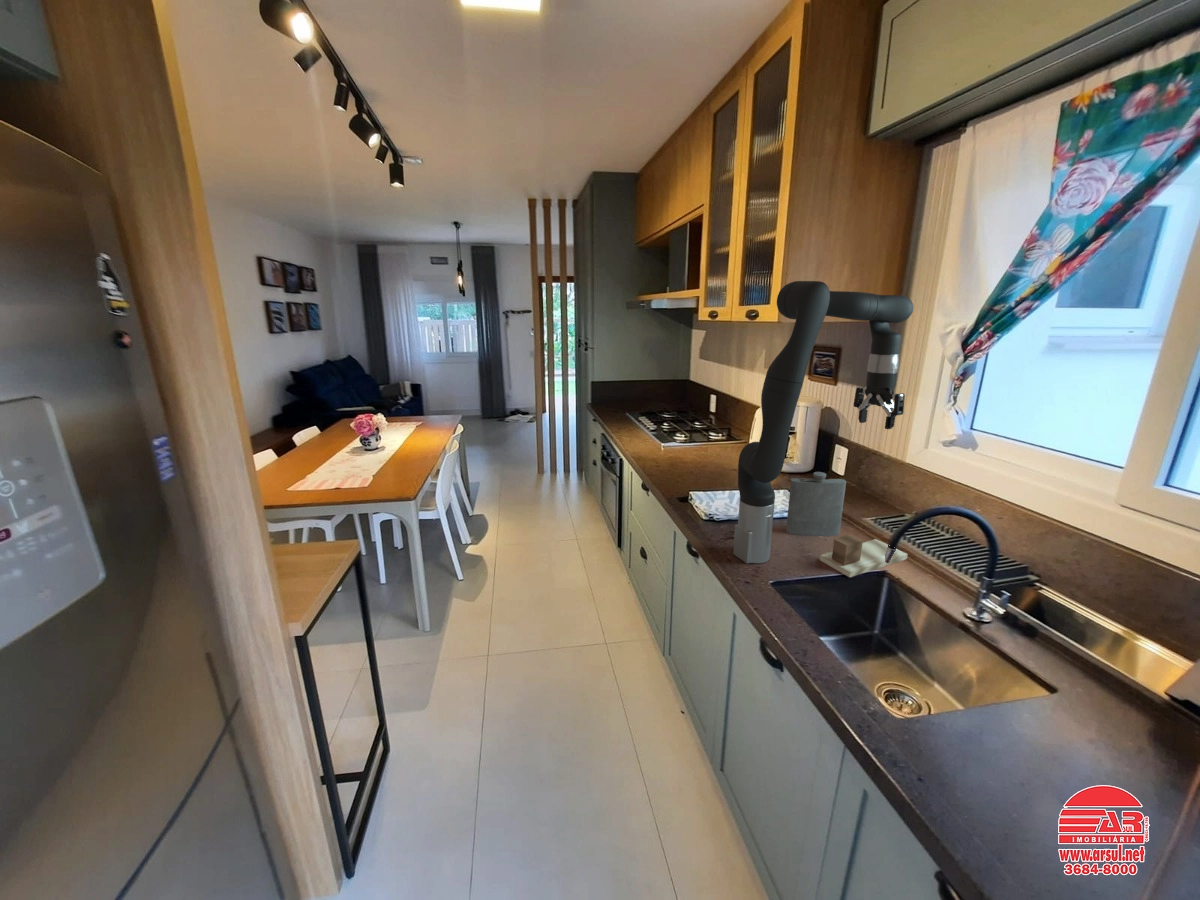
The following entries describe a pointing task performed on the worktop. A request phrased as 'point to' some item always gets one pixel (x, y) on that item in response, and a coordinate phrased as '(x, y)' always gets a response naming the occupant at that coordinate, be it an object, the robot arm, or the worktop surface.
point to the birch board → (865, 559)
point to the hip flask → (815, 506)
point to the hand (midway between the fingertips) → (875, 425)
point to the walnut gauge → (847, 549)
